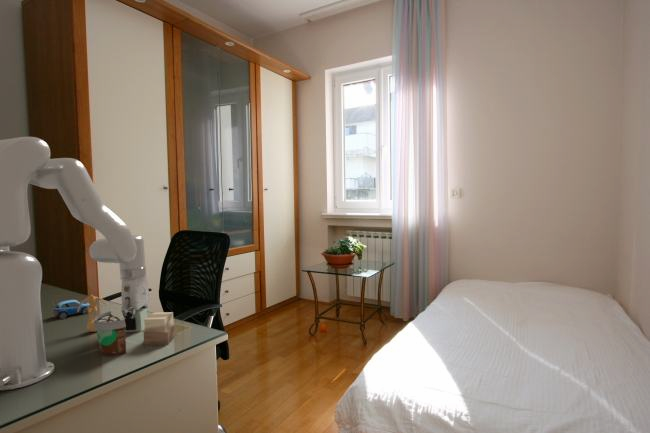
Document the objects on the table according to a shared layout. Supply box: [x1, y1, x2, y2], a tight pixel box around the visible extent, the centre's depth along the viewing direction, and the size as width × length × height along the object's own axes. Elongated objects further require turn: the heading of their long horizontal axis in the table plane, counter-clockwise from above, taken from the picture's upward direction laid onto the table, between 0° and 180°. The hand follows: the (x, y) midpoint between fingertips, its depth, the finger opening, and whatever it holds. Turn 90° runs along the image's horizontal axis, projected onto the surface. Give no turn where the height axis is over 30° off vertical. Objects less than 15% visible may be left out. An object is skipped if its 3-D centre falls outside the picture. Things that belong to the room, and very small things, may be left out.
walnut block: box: [143, 323, 178, 347], centre depth 115 cm, size 7×7×4 cm
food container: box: [93, 311, 127, 357], centre depth 107 cm, size 12×6×10 cm, turn 47°
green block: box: [125, 307, 148, 333], centre depth 125 cm, size 5×5×6 cm
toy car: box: [51, 299, 93, 320], centre depth 142 cm, size 6×12×6 cm, turn 133°
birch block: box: [144, 311, 175, 333], centre depth 114 cm, size 6×6×4 cm
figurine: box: [77, 294, 108, 333], centre depth 124 cm, size 8×6×12 cm
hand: (137, 324), depth 125 cm, fingers open, 7 cm apart
